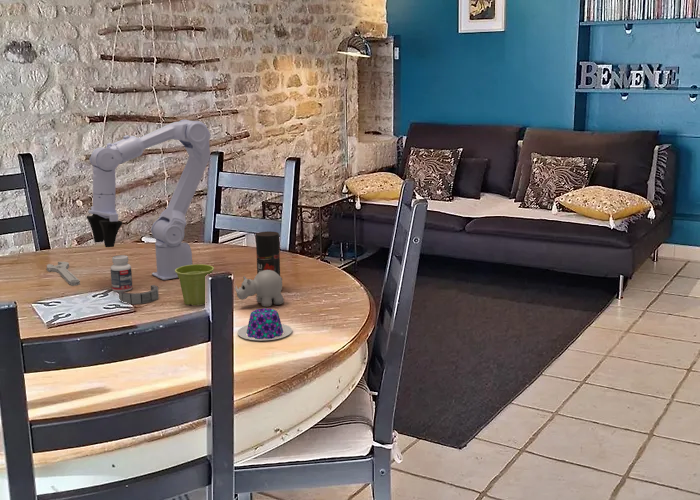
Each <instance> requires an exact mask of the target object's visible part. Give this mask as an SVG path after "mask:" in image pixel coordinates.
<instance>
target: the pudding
mask: <svg viewBox="0 0 700 500" xmlns="http://www.w3.org/2000/svg"><path fill="white" fill-rule="evenodd" d="M279 314H280V313H279V312H278V311H277V310H276V309H273V308H266V307H265V308H264V307H263V308H257V309H255V310H252V311H251V312H250V315H249V318H248V324H247V325H244V326H243V327H240V328H239V329H238V330H237V331H236V332H237V335H238V336H240V338H242V339H245V340H251V341H272V340H280V339H283V338H285V337H287V336H289V335H291V334H292V332H293V328H292V327H291V326H289V325H287V324H285V323H282V321H281V318H280V315H279Z"/></svg>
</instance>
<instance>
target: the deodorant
mask: <svg viewBox="0 0 700 500" xmlns="http://www.w3.org/2000/svg"><path fill="white" fill-rule="evenodd" d="M255 247H256V248H255V250H256V271H257V274H258V273H259V272H261V271H263V270H272V271H274V272H276V273H277V274H278V275H279V276H280V277H281V262H280V261H281V260H280V259H281V258H280V254H281V253H280V233H279V232H276V231H268V230H267V231H260V232H257V233H255ZM257 274H256V275H257Z"/></svg>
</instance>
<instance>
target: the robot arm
mask: <svg viewBox="0 0 700 500" xmlns="http://www.w3.org/2000/svg"><path fill="white" fill-rule="evenodd" d="M211 136H212V135H211V133H210V131H209V129H208V127H207V125H206V124H205V123H204V122H203V121H199V120H191V119H181V120H179V121H174V122H171V123H168V124H166V125H165V126H162V127H160V128H158V129H155V130H153V131H151V132H149V133H146V134H144V135H141V136H140V137H137V136H135V135H129V134H125V135H123V136H122V139H120V140H118V141H115V142H113V143H112V142H107V143H106V147H103V146H100V147H99V146H98V147H96V148H95V149H93V151H92V152H91V154H90V157H88V158H89V162H90V165H92V206H90V209H88V212H87V213H88V214H89V215H87V216H86V219H87V220H88V223H89V226H90V228H91V232H92V237H93V239H94V243H103V242H104V247H105V248H114V247H115V244H116V240H117V239H116V238H117V237H118V232H119V230H120V228H121V226H122V225H123V221H121V220H119V213H117V209H116V197H117V196H116V194H117V193H116V186H117V185H116V184H117V183H116V182H117V181H116V169H117V168H118V166H119V165H122V164H125V163H128V162H130V161H132V160H134V159H137V158H139V157H140V156H143V153H144V151H145V150H147V149H148V148H150V147H155V146H156V145H159V144H162V143H165V142H167V141H170V140H175V141H179V142H180V143H181V145H182V146H183V147H184V148H185V151H186V153H187V154H188V159H187V161H186V163H185V166H184V168H183V170H182V173H181V175H180V177H179V179H178V182H177V185H176V187H175V189H174V191H173V193H172V197H171V198H170V199H169V203H168V204H167V207H166V208H165V209H164V210H163V211H162V212H161V213H160V215H159V216H158V218H157V219H156V220H155V221H154V222H153V224H152V226H151V229H150V233H151V235H152V237H153V238H154V239H155V243H154V249H155V261H156V262H155V263H156V271H155V272H152V273H151V276H154V277H155V278H158V279H161V280H162V281H166V280H167V281H168V280H171V279H179V278H178V275H177V273H176V272H175V269H177V268H179V267H182V266H186V265H193V253H192V248H191V246H190V244H189V243H188V242H183V240H184V238H185V228H186V226H187V220H186V214H187V213H188V209H189V207H190V205H191V202H192V200H193V198H194V196H195V194H196V191H197V189H198V186H199V184H200V181H201V180H202V177H203V175H204V172H205V170H206V168H207V165H208V163H209V160H210V158H211V152H210V151H211V148H210V147H211V146H210V138H211ZM90 214H91V215H90Z"/></svg>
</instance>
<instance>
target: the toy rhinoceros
mask: <svg viewBox="0 0 700 500" xmlns="http://www.w3.org/2000/svg"><path fill="white" fill-rule="evenodd" d="M282 289H283V277H281V275H280V276H279V275H278V274H277V273H276V272H274V271H272V270H263V271H261V272H259V273H258V274H256V275H255V277H254V278H253V279H251V278H247V277H246V276H245V275H244V276H243V281H242V282H241V286H239V288H238V285H236V286H235V290H234V291H235V292H236V297H237V298H238V299H239V300H243V301H244V300H245V299H247V298H248V297H252V296H254V295H256V302H257V303H259V304H261V306H262V307H265V308H266V307H271V306H272V305H273V304H274V305H281V304H283V303H284V302H285V301H284V300H285V299H284V296H283V294H282Z"/></svg>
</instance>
